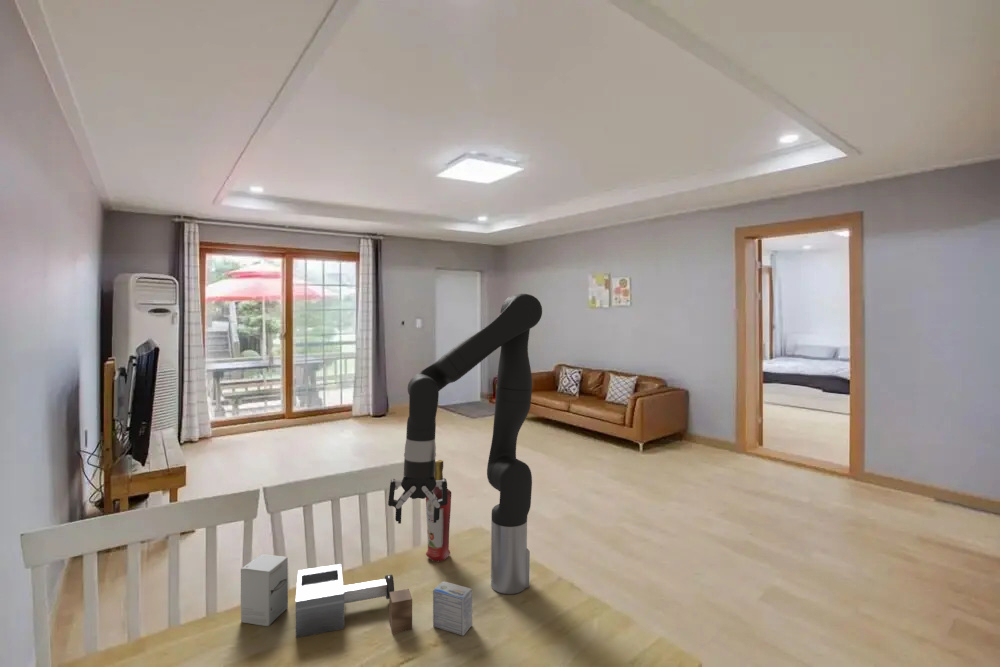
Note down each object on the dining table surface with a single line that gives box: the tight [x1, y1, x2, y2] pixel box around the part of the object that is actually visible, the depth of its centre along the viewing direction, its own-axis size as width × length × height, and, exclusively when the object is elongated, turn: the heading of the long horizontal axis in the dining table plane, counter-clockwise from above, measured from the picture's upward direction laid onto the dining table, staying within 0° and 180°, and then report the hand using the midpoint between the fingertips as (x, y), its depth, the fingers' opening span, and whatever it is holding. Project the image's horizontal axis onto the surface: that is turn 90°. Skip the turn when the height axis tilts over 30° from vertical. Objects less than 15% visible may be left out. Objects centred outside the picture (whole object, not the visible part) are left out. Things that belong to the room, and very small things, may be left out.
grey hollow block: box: [295, 563, 345, 639], centre depth 118 cm, size 10×14×8 cm
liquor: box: [425, 459, 452, 562], centre depth 145 cm, size 7×7×28 cm
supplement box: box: [240, 553, 289, 627], centre depth 117 cm, size 7×7×13 cm
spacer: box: [388, 588, 413, 635], centre depth 114 cm, size 4×4×7 cm
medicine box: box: [432, 580, 473, 636], centre depth 114 cm, size 8×4×9 cm, turn 65°
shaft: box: [343, 573, 395, 605], centre depth 121 cm, size 14×5×5 cm, turn 110°
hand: (417, 522), depth 125 cm, fingers open, 8 cm apart
